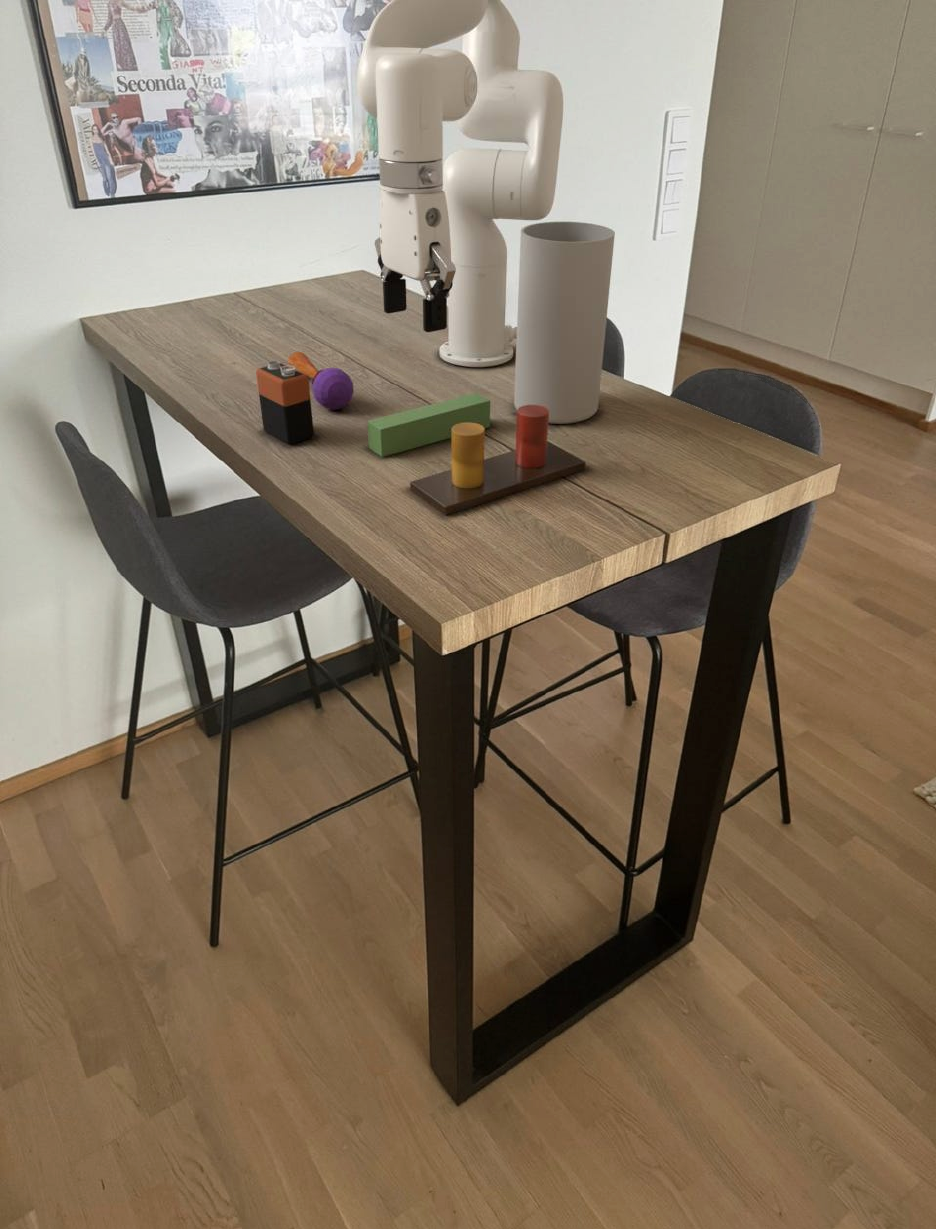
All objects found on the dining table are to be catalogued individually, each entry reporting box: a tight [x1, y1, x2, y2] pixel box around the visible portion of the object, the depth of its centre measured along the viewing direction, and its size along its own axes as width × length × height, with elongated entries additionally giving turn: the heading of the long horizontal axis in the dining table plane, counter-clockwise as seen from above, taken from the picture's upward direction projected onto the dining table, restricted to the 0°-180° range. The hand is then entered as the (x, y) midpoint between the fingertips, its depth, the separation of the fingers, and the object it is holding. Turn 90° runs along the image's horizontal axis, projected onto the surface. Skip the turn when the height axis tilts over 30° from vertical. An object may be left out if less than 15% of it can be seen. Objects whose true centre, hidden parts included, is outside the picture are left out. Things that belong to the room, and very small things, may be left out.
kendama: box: [288, 351, 354, 411], centre depth 137 cm, size 6×6×20 cm
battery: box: [255, 360, 315, 445], centre depth 123 cm, size 4×7×10 cm, turn 43°
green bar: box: [367, 392, 491, 458], centre depth 124 cm, size 18×4×4 cm, turn 125°
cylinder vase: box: [513, 221, 616, 425], centre depth 127 cm, size 12×12×25 cm
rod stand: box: [409, 405, 586, 516], centre depth 112 cm, size 22×8×8 cm, turn 125°
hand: (414, 320), depth 116 cm, fingers open, 9 cm apart
